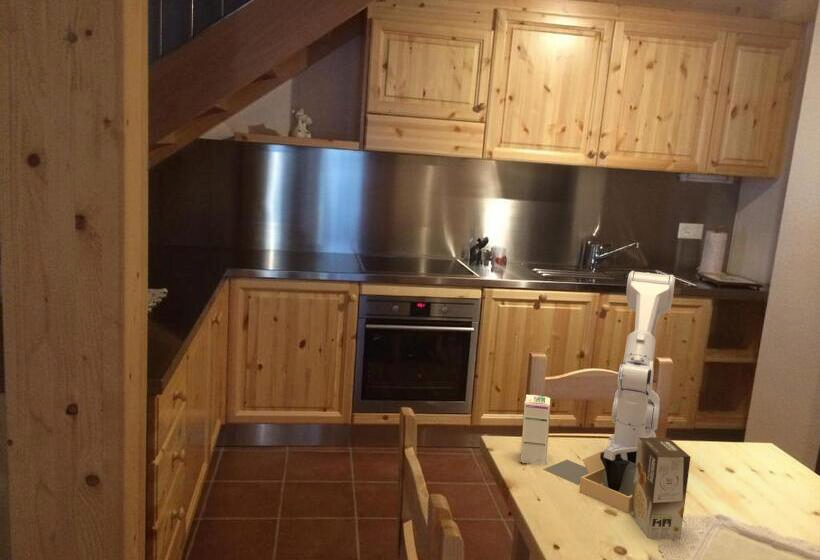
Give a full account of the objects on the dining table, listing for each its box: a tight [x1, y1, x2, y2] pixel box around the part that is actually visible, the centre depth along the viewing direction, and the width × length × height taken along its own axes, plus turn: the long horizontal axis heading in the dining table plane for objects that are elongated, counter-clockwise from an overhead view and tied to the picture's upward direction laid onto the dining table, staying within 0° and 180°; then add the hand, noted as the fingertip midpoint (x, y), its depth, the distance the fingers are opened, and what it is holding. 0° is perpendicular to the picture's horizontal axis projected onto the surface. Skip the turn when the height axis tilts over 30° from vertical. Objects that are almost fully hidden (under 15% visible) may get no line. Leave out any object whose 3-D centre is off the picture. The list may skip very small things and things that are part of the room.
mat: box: [542, 459, 589, 486], centre depth 149 cm, size 9×9×1 cm
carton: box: [578, 450, 632, 514], centre depth 140 cm, size 15×15×6 cm
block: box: [603, 459, 636, 496], centre depth 140 cm, size 4×7×6 cm, turn 42°
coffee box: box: [629, 436, 692, 540], centre depth 126 cm, size 9×6×16 cm
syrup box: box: [520, 394, 551, 466], centre depth 154 cm, size 6×6×14 cm
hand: (623, 484), depth 140 cm, fingers open, 7 cm apart
